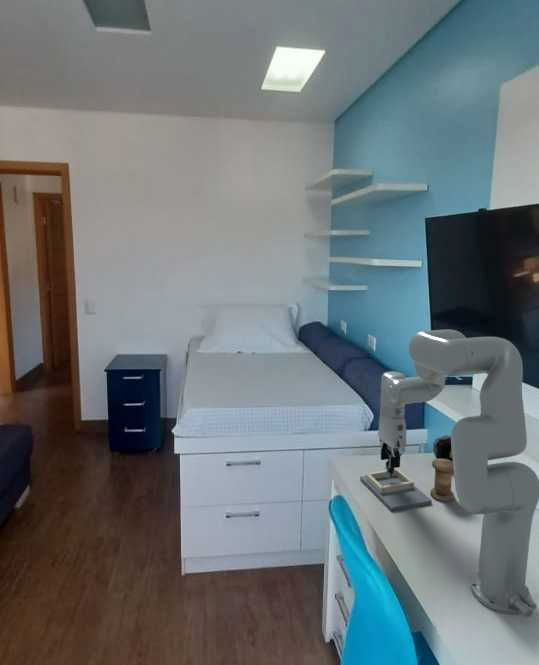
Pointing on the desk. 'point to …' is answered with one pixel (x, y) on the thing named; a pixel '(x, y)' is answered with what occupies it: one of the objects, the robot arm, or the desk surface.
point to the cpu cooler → (443, 448)
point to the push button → (389, 469)
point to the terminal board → (395, 490)
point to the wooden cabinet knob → (442, 480)
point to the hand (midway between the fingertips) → (390, 462)
